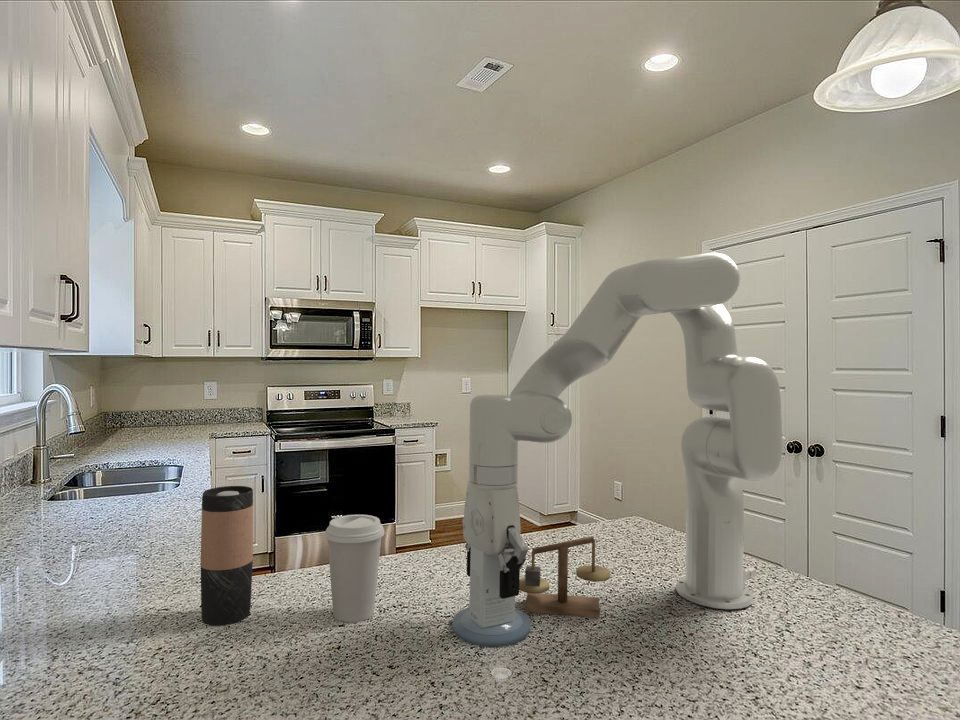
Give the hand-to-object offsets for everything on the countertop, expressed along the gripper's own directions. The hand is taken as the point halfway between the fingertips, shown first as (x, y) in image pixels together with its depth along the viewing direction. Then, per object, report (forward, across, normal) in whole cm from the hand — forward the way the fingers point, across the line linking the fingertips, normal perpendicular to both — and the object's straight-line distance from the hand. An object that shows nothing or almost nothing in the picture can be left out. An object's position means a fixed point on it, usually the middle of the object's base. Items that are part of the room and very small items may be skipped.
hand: (491, 585), depth 88 cm
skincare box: (+6, 0, 0) cm, 6 cm away
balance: (+6, 0, +14) cm, 15 cm away
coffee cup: (+7, -15, -17) cm, 24 cm away
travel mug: (+7, -24, -35) cm, 43 cm away
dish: (+6, 0, 0) cm, 6 cm away
